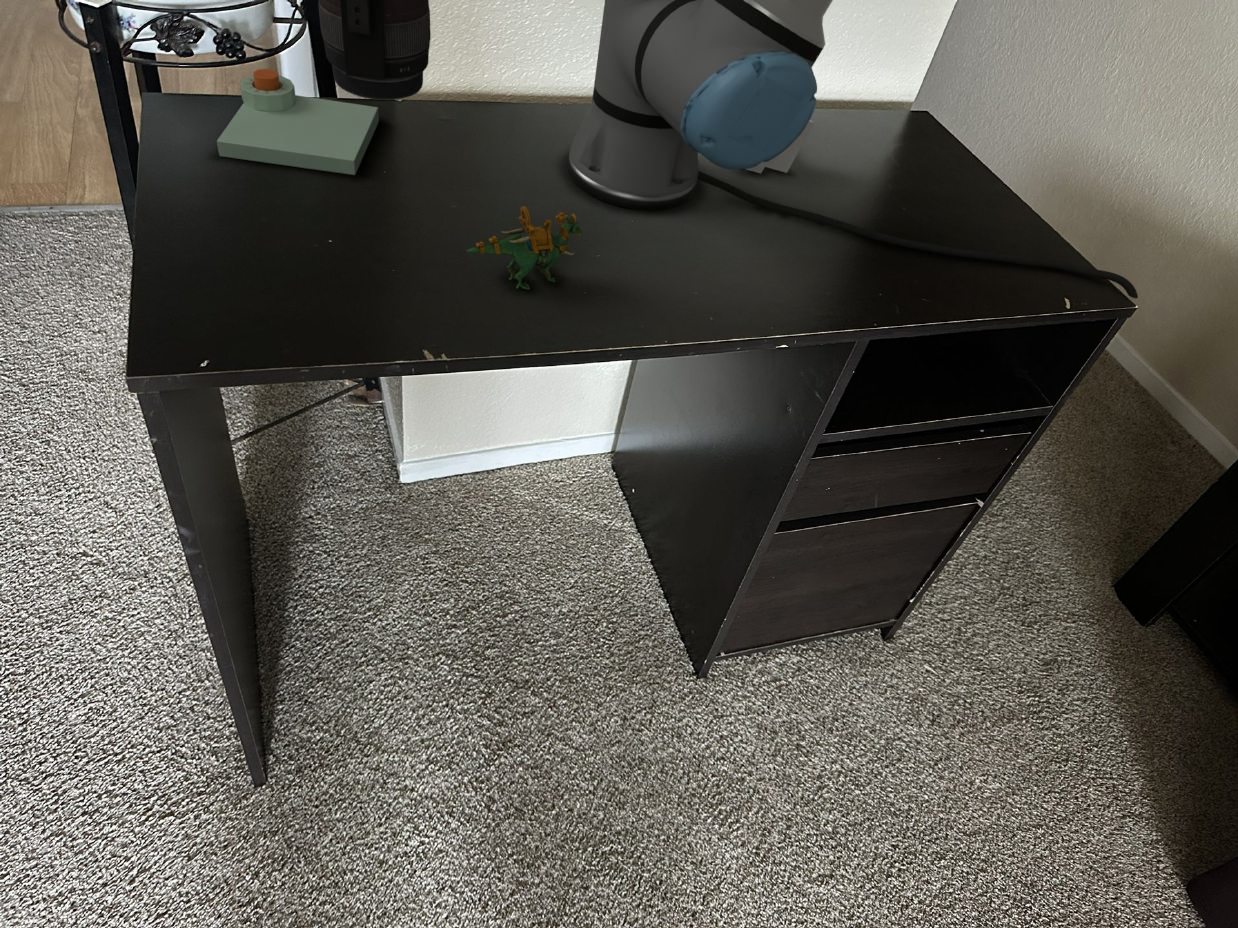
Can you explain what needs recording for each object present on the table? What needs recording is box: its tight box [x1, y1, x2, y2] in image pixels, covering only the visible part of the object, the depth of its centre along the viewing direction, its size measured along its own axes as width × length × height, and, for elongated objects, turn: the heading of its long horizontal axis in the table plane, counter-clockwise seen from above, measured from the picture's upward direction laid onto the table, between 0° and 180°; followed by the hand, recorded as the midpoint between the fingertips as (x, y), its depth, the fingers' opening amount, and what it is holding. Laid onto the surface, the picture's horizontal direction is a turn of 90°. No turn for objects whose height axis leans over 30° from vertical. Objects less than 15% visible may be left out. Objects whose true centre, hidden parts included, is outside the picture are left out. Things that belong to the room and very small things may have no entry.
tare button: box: [252, 68, 280, 91], centre depth 96 cm, size 3×3×2 cm
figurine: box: [466, 205, 582, 290], centre depth 81 cm, size 3×12×8 cm, turn 122°
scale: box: [216, 74, 380, 176], centre depth 95 cm, size 14×13×4 cm
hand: (376, 51), depth 66 cm, fingers closed on camera lens, 8 cm apart
